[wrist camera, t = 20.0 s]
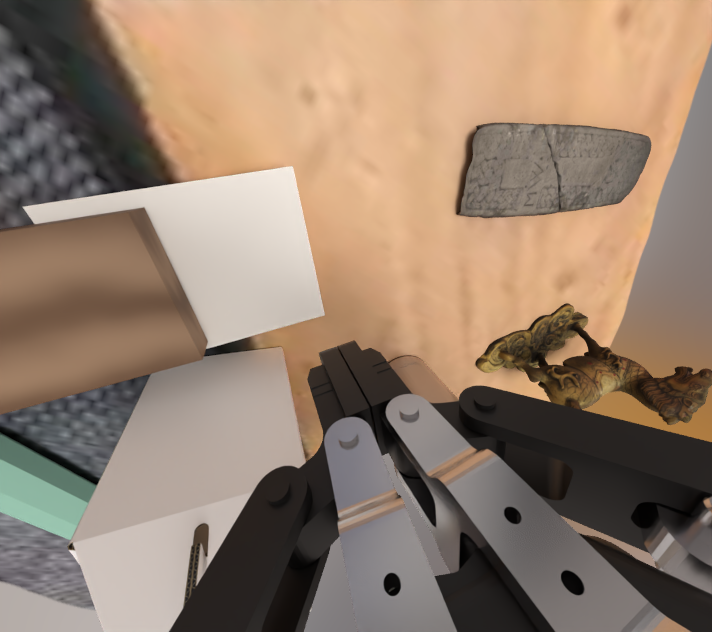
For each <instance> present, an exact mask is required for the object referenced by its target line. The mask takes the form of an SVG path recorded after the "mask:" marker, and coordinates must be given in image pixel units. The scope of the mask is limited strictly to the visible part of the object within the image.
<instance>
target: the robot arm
mask: <svg viewBox="0 0 712 632" xmlns="http://www.w3.org/2000/svg"><path fill="white" fill-rule="evenodd" d="M319 355H320V359H321V363H322V365H321V366H318V367H315V368H312V369H310V372H309V376H308V383H309V386H310V389H311V392H312V396H313V399H314V402H315V406H316V409H317V412H318V415H319V419H320V422H321V425H322V429H323V441H322V444H321V446H320V448H319V450H318V451H317V453H316V454H315V455H314V456H313V457H312V458H311V459H310V460H308V461H307V462H306V463H305V464H303V465H302V466H301V467H300V468H297V467H294V466H282V467H278V468H276V469H274V470H272V471H271V472H269V473H268V474H266V475H265V476H264V477H263V478H262V479H261V481H260V482H259V483H258V485H257V486H256V488H255V489H254V491H253V493H252V494H251V496H250V498H249V499H248V501H247V503H246V504H245V506H244V508H243V509H242V511H241V513H240V514H239V516H238V518H237V519H236V521H235V523H234V524H233V526H232V528H231V529H230V531H229V533H228V534H227V536H226V538H225V539H224V541H223V543H222V544H221V546H220V548H219V549H218V551H217V553H216V554H215V556H214V558H213V559H212V561H211V563H210V564H209V566H208V568H207V569H206V571H205V573H204V574H203V576H202V578H201V579H200V581H199V583H198V584H197V586H196V588H195V589H194V591H193V593H192V594H191V596H190V598H189V599H188V601H187V602H186V604H185V606H184V607H183V609H182V611H181V612H180V614H179V616H178V617H177V619H176V621H175V622H174V624H173V626H172V627H171V629H170V631H169V632H303V631H304V628H305V625H306V622H307V619H308V615H309V613H310V610H311V607H312V603H313V600H314V597H315V594H316V591H317V588H318V584H319V582H320V579H321V576H322V572H323V569H324V567H325V563H326V560H327V557H328V554H329V550H330V546H331V544H333V542H334V541H335V540H336V539H337V538H338V537H339V536H340V541H341V547H342V552H343V557H344V563H345V568H346V573H347V579H348V584H349V589H350V595H351V600H352V605H353V611H354V616H355V621H356V626H357V632H712V442H708V441H704V440H700V439H696V438H692V437H688V436H684V435H679V434H676V433H672V432H667V431H664V430H660V429H656V428H652V427H648V426H644V425H639V424H636V423H632V422H628V421H624V420H620V419H616V418H611V417H608V416H604V415H600V414H595V413H592V412H587V411H584V410H580V409H576V408H572V407H568V406H564V405H560V404H556V403H552V402H548V401H544V400H540V399H536V398H532V397H528V396H524V395H520V394H516V393H512V392H508V391H503V390H499V389H495V388H491V387H487V386H472V387H469V388H467V389H465V390H464V391H463V392H462V393H461V394H460V397H459V399H458V398H457V397H456V396H455V395H454V394H453V393H452V392H451V391H450V390H449V389H448V388H447V387H446V385H445V384H444V383H443V382H442V381H441V380H440V379H439V378H438V377H437V376H436V375H435V374H434V373H433V372H432V370H431V369H430V368H429V367H428V366H427V365H426V364H425V363H424V362H423V361H422V360H421V359H420V358H417V357H414V356H404V357H400V358H397V359H395V360H393V361H391V362H390V363H388V362H387V361H386V359H385V358H384V357H383V356H382V354H381V353H380V352H378V351H376V350H374V349H372V348H369V349H366V350H363V351H362V350H361V349H360V348H359V346H358V345H357V343H356V342H355V341H351V342H348V343H346V344H343V345H340V346H337V347H334V348H331V349H328V350H325V351H322V352H319ZM387 453H389V454H390V456H391V458H392V460H393V462H394V466H395V472H396V474H397V477H398V478H399V480H400V482H401V483H402V485H403V486H404V488H405V490H406V491H407V493H408V495H409V496H410V498H411V500H412V501H413V503H414V504H415V506H416V508H417V510H418V511H419V513H420V514H421V516H422V518H423V519H424V521H425V523H426V524H427V526H428V528H429V529H430V531H431V533H432V535H433V537H434V539H435V541H436V543H437V547H438V549H439V552H440V554H441V556H442V558H443V560H444V562H445V564H446V566H447V568H448V570H449V571H450V574H445V575H439V576H434V574H433V572H432V569H431V567H430V564H429V562H428V559H427V557H426V555H425V552H424V550H423V547H422V545H421V542H420V540H419V537H418V535H417V533H416V530H415V528H414V525H413V523H412V520H411V518H410V515H409V513H408V511H407V508H406V506H405V504H404V502H403V499H402V498H401V496H400V495H398V494H397V492H396V490H395V487H394V485H393V482H392V480H391V477H390V475H389V472H388V470H387V467H386V465H385V462H384V460H383V457H382V455H385V454H387ZM560 515H561V516H564V517H566V518H568V519H571V520H573V521H575V522H578V523H580V524H582V525H585V526H587V527H589V528H592V529H594V530H596V531H599V532H601V533H604V534H606V535H609V536H611V537H613V538H615V539H618V540H620V541H622V542H625V543H627V544H629V545H632V546H635V547H636V548H639V549H641V550H644V551H646V552H648V553H650V554H651V556H652V557H653V559H654V560H655V565H656V568H654V567H652V566H650V565H648V564H646V563H643V562H641V561H639V560H637V559H635V558H634V557H633V556H632V555H630V554H629V553H627V552H626V551H624V550H622V549H621V548H619V547H618V546H616V545H614V544H612V543H611V542H608V541H606V540H603V539H601V538H599V537H595V536H588V535H582V534H580V533H577V532H576V531H575V530H574V529H573V528H572V527H571V526H570V525H569V524H568V523H567V522H566V521H565V520H564V519H563V518H562V517H561V516H560Z"/></svg>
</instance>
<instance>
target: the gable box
mask: <svg viewBox="0 0 712 632" xmlns="http://www.w3.org/2000/svg"><path fill="white" fill-rule="evenodd" d="M305 463H306V461H305V456H304V451H303V446H302V441H301V436H300V431H299V426H298V421H297V416H296V411H295V406H294V402H293V397H292V392H291V387H290V382H289V377H288V372H287V367H286V362H285V357H284V352H283V348H282V347H275V348H267V349H259V350H251V351H244V352H236V353H228V354H220V355H212V356H204V357H203V360H200V361H196V362H193V363H189V364H185V365H181V366H178V367H174V368H170V369H167V370H163V371H159V372H156V373H152V374H151V375H150V377H149V379H148V381H147V383H146V385H145V387H144V389H143V391H142V393H141V395H140V397H139V399H138V401H137V404H136V406H135V408H134V410H133V412H132V414H131V416H130V418H129V420H128V422H127V424H126V426H125V428H124V430H123V432H122V435H121V437H120V439H119V441H118V443H117V445H116V447H115V449H114V451H113V453H112V455H111V457H110V459H109V461H108V464H107V466H106V468H105V470H104V472H103V474H102V476H101V478H100V480H99V482H98V484H97V486H96V488H95V490H94V492H93V495H92V497H91V499H90V501H89V503H88V505H87V507H86V509H85V511H84V513H83V515H82V517H81V519H80V521H79V523H78V526H77V528H76V530H75V532H74V534H73V536H72V538H71V540H70V542H69V544H68V546H67V547H68V549H69V551H70V552H71V554H72V555H73V556H74V558H75V559H76V560H77V561H78V563H79V564H80V566H81V569H82V572H83V574H84V577H85V580H86V583H87V586H88V589H89V592H90V595H91V598H92V601H93V603H94V606H95V609H96V612H97V615H98V618H99V621H100V623H101V626H102V629H103V632H169V631H170V629H171V627H172V626H173V624H174V622H175V621H176V619H177V617H178V616H179V614H180V612H181V611H182V609H183V607H184V606H185V604H186V602H187V601H188V599H189V598H190V596H191V594H192V593H193V591H194V589H195V588H196V586H197V584H198V583H199V581H200V579H201V578H202V576H203V574H204V573H205V571H206V569H207V568H208V566H209V564H210V563H211V561H212V559H213V558H214V556H215V554H216V553H217V551H218V549H219V548H220V546H221V544H222V543H223V541H224V539H225V538H226V536H227V534H228V533H229V531H230V529H231V528H232V526H233V524H234V523H235V521H236V519H237V518H238V516H239V514H240V513H241V511H242V509H243V508H244V506H245V504H246V503H247V501H248V499H249V498H250V496H251V494H252V493H253V491H254V489H255V488H256V486H257V485H258V483H259V482H260V481H261V479H262V478H263V477H264V476H265V475H266V474H268V473H269V472H271V471H272V470H274V469H276V468H278V467H282V466H294V467H297V468H300V467H301V466H302V465H303V464H305ZM311 609H312V607H311ZM310 611H311V610H310ZM304 629H305V628H304ZM303 632H304V631H303Z"/></svg>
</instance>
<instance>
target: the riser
mask: <svg viewBox="0 0 712 632" xmlns="http://www.w3.org/2000/svg"><path fill="white" fill-rule="evenodd" d="M143 207H144V208H145V210H146V212H147V214H148V216H149V218H150V221H151V223H152V225H153V227H154V229H155V231H156V233H157V235H158V237H159V240H160V242H161V244H162V246H163V248H164V250H165V252H166V254H167V256H168V258H169V261H170V263H171V265H172V267H173V269H174V271H175V273H176V275H177V277H178V279H179V282H180V284H181V286H182V288H183V290H184V292H185V294H186V296H187V298H188V300H189V303H190V305H191V307H192V309H193V311H194V313H195V315H196V317H197V319H198V321H199V324H200V326H201V328H202V330H203V332H204V334H205V336H206V338H207V340H208V343H207V347H206V349H208V348H211V347H215V346H218V345H222V344H225V343H229V342H233V341H236V340H240V339H243V338H247V337H250V336H254V335H257V334H261V333H264V332H268V331H271V330H275V329H278V328H282V327H285V326H289V325H292V324H296V323H299V322H303V321H306V320H310V319H313V318H317V317H320V316H324V315H325V313H324V308H323V304H322V299H321V294H320V290H319V285H318V281H317V276H316V271H315V267H314V262H313V258H312V253H311V248H310V244H309V239H308V235H307V230H306V225H305V221H304V216H303V211H302V207H301V202H300V198H299V193H298V188H297V184H296V179H295V175H294V170H293V166H290V167H283V168H277V169H270V170H263V171H257V172H250V173H243V174H237V175H230V176H223V177H217V178H210V179H204V180H197V181H190V182H184V183H177V184H170V185H164V186H157V187H151V188H144V189H137V190H131V191H124V192H117V193H111V194H104V195H98V196H91V197H84V198H78V199H71V200H64V201H58V202H51V203H45V204H38V205H31V206H25V207H23V208H24V210H25V211H26V213H27V214H28V215H29V217H30V218H31V220H32V221H33V223H34V224H39V223H46V222H52V221H58V220H65V219H71V218H78V217H84V216H91V215H97V214H104V213H110V212H117V211H123V210H130V209H136V208H143Z"/></svg>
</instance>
